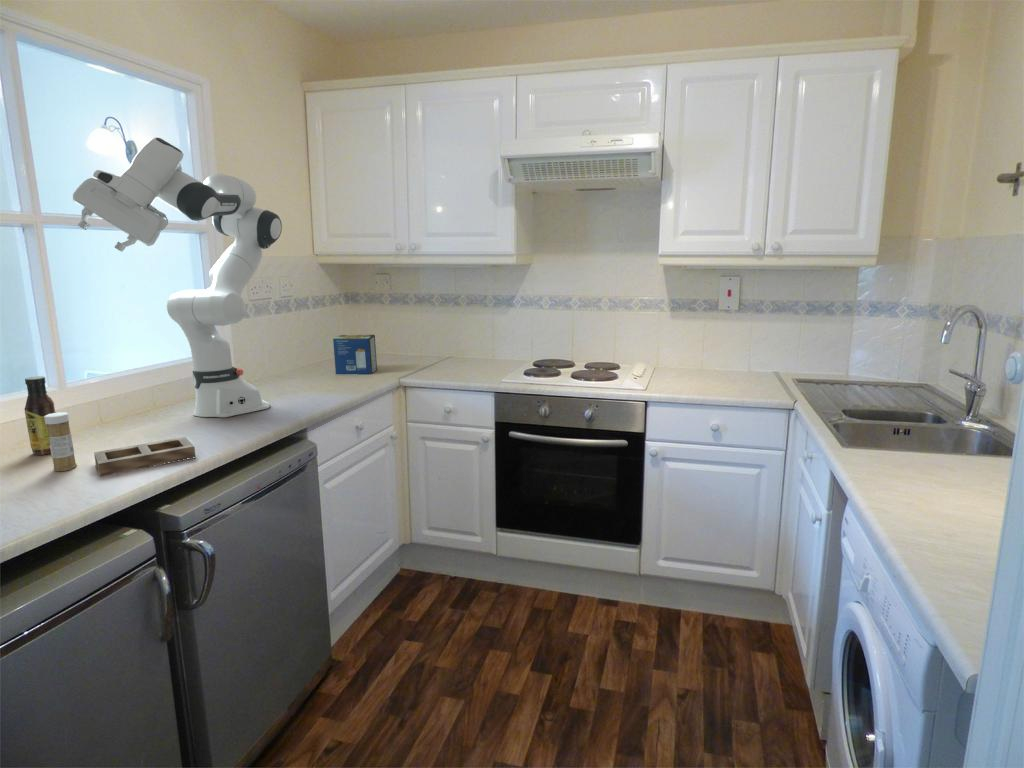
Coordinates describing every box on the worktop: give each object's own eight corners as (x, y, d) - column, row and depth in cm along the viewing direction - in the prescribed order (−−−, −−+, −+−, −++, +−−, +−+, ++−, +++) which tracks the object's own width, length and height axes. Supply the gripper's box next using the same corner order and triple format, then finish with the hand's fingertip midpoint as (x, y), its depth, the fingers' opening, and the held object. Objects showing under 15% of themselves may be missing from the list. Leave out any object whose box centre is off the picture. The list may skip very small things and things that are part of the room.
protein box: (342, 370, 270) (339, 334, 267) (377, 369, 270) (375, 334, 266) (334, 374, 260) (332, 338, 257) (371, 374, 259) (368, 337, 256)
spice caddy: (186, 447, 163) (185, 436, 162) (195, 457, 154) (194, 446, 153) (95, 464, 151) (93, 452, 150) (100, 476, 142) (98, 463, 142)
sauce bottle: (30, 452, 161) (16, 377, 157) (59, 447, 165) (46, 373, 161) (34, 458, 156) (20, 380, 152) (64, 452, 161) (51, 377, 157)
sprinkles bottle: (61, 465, 150) (51, 412, 147) (81, 465, 150) (72, 411, 148) (49, 472, 145) (39, 416, 143) (69, 471, 146) (60, 416, 143)
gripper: (175, 221, 161) (143, 265, 159) (100, 174, 157) (66, 218, 155) (168, 214, 155) (135, 260, 153) (89, 165, 151) (54, 211, 149)
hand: (100, 238), depth 154 cm, fingers open, 8 cm apart
